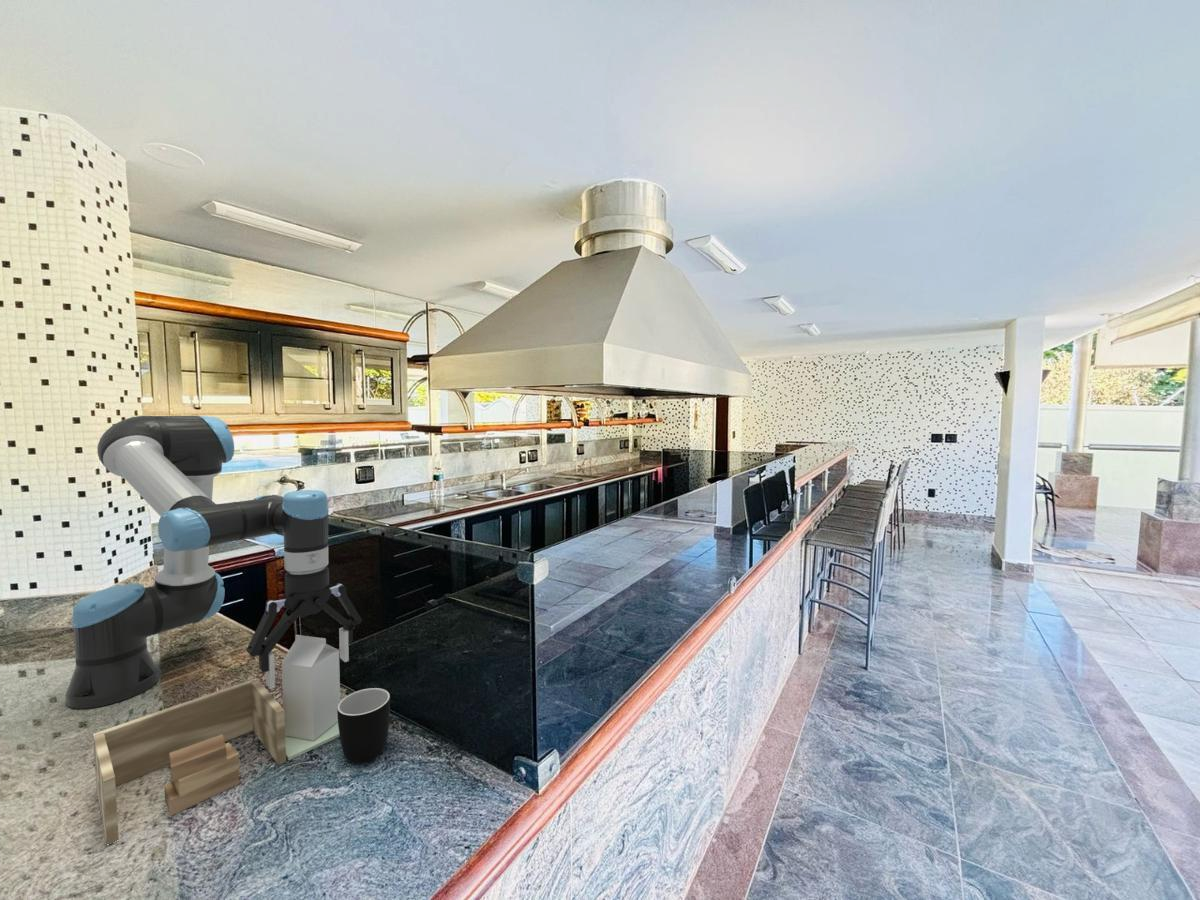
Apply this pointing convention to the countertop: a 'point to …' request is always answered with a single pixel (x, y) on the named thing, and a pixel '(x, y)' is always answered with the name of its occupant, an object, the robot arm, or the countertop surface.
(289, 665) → the milk carton
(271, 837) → the countertop surface
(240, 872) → the countertop surface
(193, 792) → the offcut stack
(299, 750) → the mat
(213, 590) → the robot arm
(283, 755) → the frame
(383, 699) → the mug
